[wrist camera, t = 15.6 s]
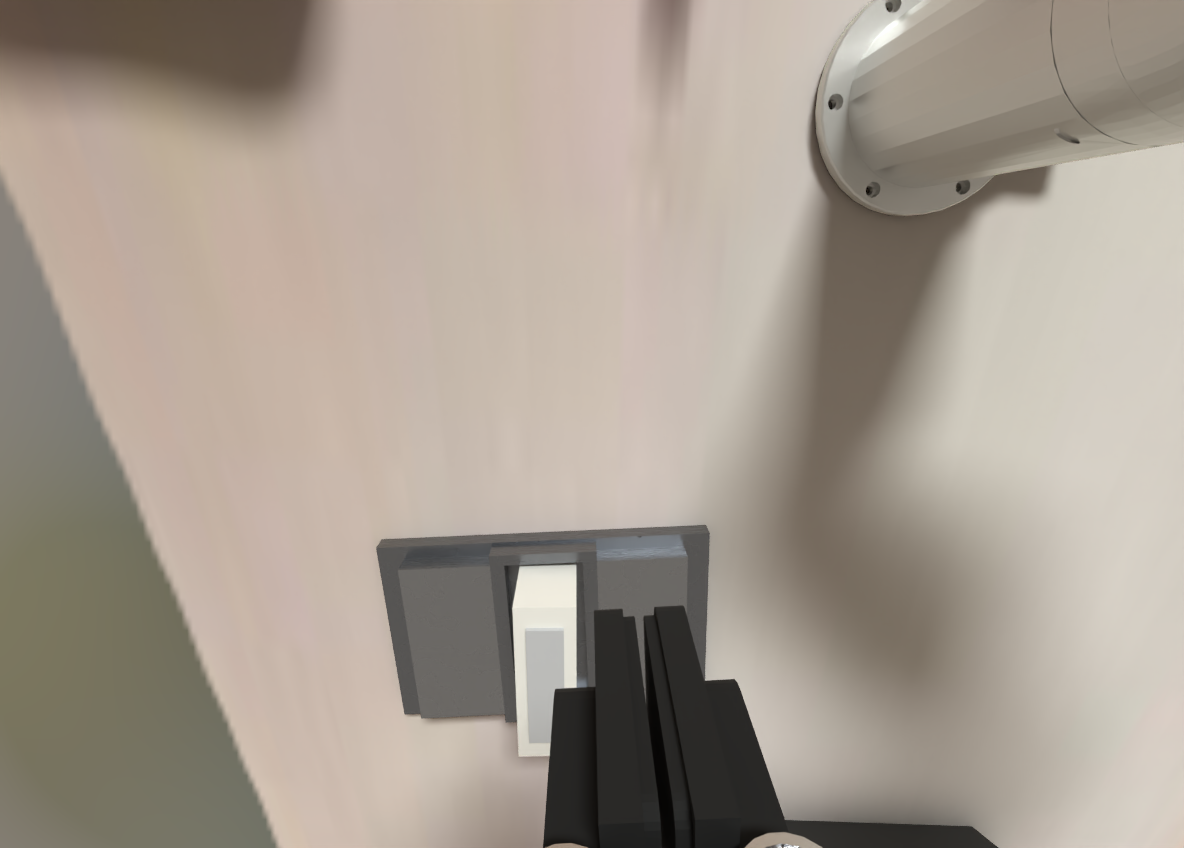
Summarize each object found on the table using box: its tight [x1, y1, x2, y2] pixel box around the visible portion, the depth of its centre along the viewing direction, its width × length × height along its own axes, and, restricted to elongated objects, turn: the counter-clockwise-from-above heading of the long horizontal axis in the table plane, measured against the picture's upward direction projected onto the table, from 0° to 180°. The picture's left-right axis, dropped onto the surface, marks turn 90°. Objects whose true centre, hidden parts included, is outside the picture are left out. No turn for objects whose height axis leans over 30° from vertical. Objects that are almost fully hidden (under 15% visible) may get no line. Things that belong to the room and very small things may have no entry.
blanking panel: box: [512, 562, 577, 757], centre depth 39 cm, size 4×12×6 cm, turn 0°
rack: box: [376, 525, 710, 722], centre depth 42 cm, size 24×15×3 cm, turn 92°
